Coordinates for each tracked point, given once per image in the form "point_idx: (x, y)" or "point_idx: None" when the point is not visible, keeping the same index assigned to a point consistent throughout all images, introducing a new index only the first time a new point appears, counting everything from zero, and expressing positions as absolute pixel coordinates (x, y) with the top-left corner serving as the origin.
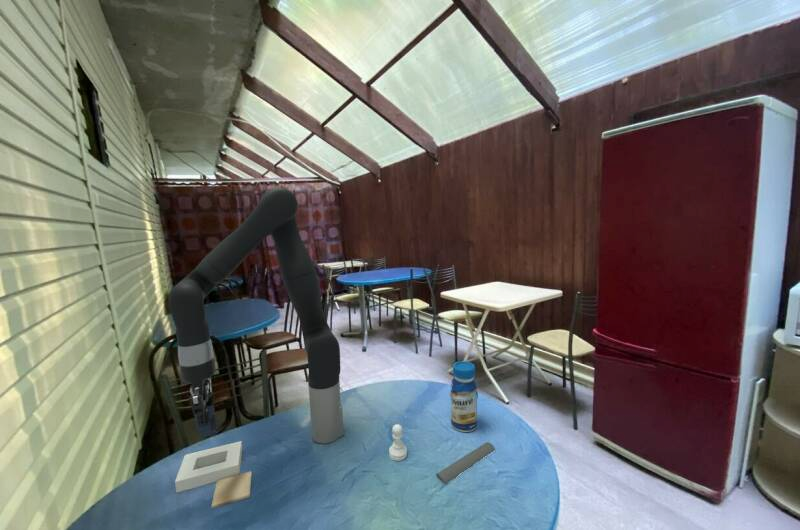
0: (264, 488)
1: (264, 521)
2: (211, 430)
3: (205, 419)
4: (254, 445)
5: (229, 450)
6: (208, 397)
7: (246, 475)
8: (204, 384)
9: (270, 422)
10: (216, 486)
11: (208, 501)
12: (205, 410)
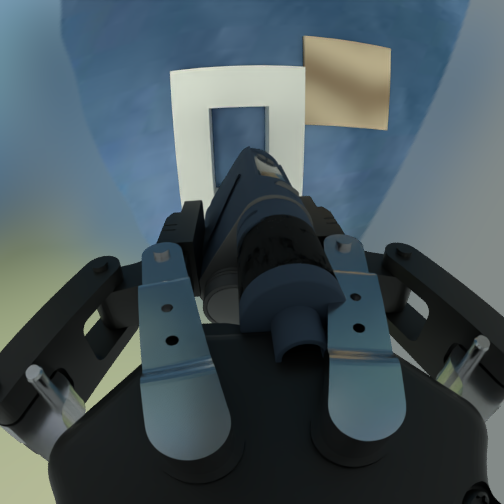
0: (373, 15)
1: (453, 37)
2: (281, 171)
3: (332, 221)
4: (164, 40)
5: (212, 102)
6: (341, 287)
7: (317, 48)
8: (383, 454)
9: (62, 24)
10: (326, 123)
11: (359, 138)
12: (412, 251)
